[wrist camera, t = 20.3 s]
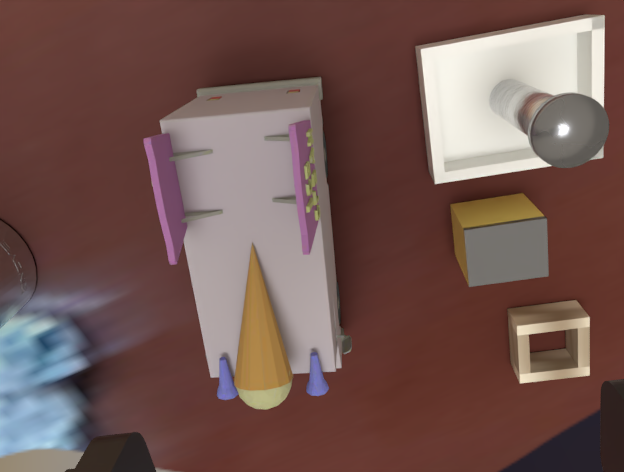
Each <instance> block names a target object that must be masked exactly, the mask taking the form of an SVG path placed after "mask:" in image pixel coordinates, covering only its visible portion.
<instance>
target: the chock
mask: <svg viewBox="0 0 624 472" xmlns="http://www.w3.org/2000/svg"><path fill="white" fill-rule="evenodd" d="M450 208H451V218H452V228H453V238H454V248H455V256H456V258H457V260H458V263H459V265H460V267H461V270H462V272H463V274H464V276H465V279H466V281H467V283H468V285H469V287H472V286H479V285H487V284H494V283H502V282H509V281H516V280H524V279H531V278H539V277H546V276H549V274H548V242H547V218H546V217H545V216H544V215H543V214H542V213H541V212H540V211H539V210H538V209H537V207H536V206H535V205H534V204H533V203H532V202H531V201H530V200H529V199H528V198H527V197H526V196H525V195H524V194H523V193H520V194H513V195H507V196H500V197H494V198H487V199H481V200H474V201H468V202H461V203H455V204H450Z"/></svg>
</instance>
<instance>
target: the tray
mask: <svg viewBox="0 0 624 472" xmlns="http://www.w3.org/2000/svg"><path fill="white" fill-rule="evenodd" d="M604 33H605V15H580V16H575V17H569V18H564V19H558V20H553V21H548V22H542V23H537V24H532V25H526V26H521V27H516V28H510V29H505V30H499V31H494V32H489V33H483V34H478V35H473V36H467V37H462V38H457V39H451V40H446V41H441V42H435V43H430V44H424V45H419V46H415V49H416V59H417V68H418V77H419V86H420V95H421V104H422V113H423V123H424V132H425V141H426V150H427V159H428V168H429V173H430V175H431V177H432V179H433V181H434V183H435V184H439V183H446V182H452V181H458V180H465V179H471V178H478V177H484V176H490V175H497V174H503V173H510V172H516V171H522V170H529V169H535V168H541V167H548V166H552V165H550V164H548V163H546V162H545V161H543V160H542V159H541V158H539V157H538V156H537V155H536V154H535V153H534V152H533V150H532V148H531V146H530V144H529V141H528V136H527V135H526V134H524V133H523V132H521V131H520V130H518V129H517V128H515V127H514V126H513V125H511V124H510V123H508V122H507V121H505V120H504V119H503V118H501V117H500V116H498V115H497V114H495V113H494V112H493V110H492V109H491V107H490V102H489V99H490V94H491V92H492V90H493V88H494V87H495V86H496V85H497V84H498V83H500V82H501V81H504V80H507V79H515V80H518V81H520V82H523V83H525V84H528V85H530V86H533V87H535V88H537V89H540V90H542V91H545V92H547V93H550V94H552V95H554V96H555V95H558V94H561V93H568V92H573V93H579V94H582V95H585V96H588V97H591V98H593V99H595V100H596V101H597V102H599V103H600V104H601V105H602V107H603V108H604ZM599 158H603V147H602V148H601V150H600V151H599V152H598V153H597V154H596V155H595V156H594V157H593V158H592V159H599ZM592 159H590V160H592Z"/></svg>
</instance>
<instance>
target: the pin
mask: <svg viewBox="0 0 624 472" xmlns="http://www.w3.org/2000/svg"><path fill="white" fill-rule="evenodd" d="M489 102H490V107H491V109H492V110H493V112H494V113H495V114H497V115H498V116H500V117H501V118H503V119H504V120H505V121H507V122H508V123H510V124H511V125H513V126H514V127H515V128H517V129H518V130H520V131H521V132H523V133H524V134H526V135H527V136H528V141H529V144H530V146H531V148H532V150H533V152H534V153H535V154H536V155H537V156H538V157H539V158H541V159H542V160H543V161H545V162H546V163H548V164H550V165H552V166H555V167H559V168H571V167H576V166H579V165H582V164H584V163H586V162H587V161H589V160H590V159H592V158H593V157H594V156H595V155H596V154H597V153H598V152H599V151H600V150H601V148H602V147H603V145H604V143H605V141H606V139H607V136H608V132H609V120H608V116H607V113H606V111H605V109H604V108H603V107H602V105H601V104H600V103H599V102H597V101H596V100H595V99H593V98H591V97H588V96H585V95H582V94H579V93H573V92H568V93H561V94H558V95H555V96H554V95H552V94H550V93H547V92H545V91H542V90H540V89H537V88H535V87H533V86H530V85H528V84H525V83H523V82H520V81H518V80H515V79H507V80H504V81H501V82H500V83H498V84H497V85H496V86H495V87H494V88H493V90H492V92H491V94H490V99H489Z"/></svg>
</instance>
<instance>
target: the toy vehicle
mask: <svg viewBox="0 0 624 472" xmlns="http://www.w3.org/2000/svg"><path fill="white" fill-rule="evenodd" d="M322 99H323V91H322V80H321V77H313V78H302V79H292V80H281V81H271V82H261V83H250V84H240V85H230V86H219V87H209V88H199V89H197V98H196V99H194V100H192V101H191V102H189V103H187V104H186V105H184V106H183V107H181V108H179V109H178V110H176V111H174V112H173V113H171V114H169V115H168V116H166V117H164V118H163V119H161V120H160V125H161V130H162V134H160V135H156V136H152V137H148V138H144V146H145V150H146V154H147V157H148V161H149V167H150V173H151V179H152V181H151V182H152V187H153V190H154V195H155V200H156V205H157V210H158V215H159V219H160V223H161V227H162V231H163V235H164V239H165V243H166V247H167V253H168V259H169V263H170V265H173V264H177V262H178V259H179V255H180V251H181V248H182V244H183V241H184V246H185V251H186V256H187V261H188V266H189V271H190V276H191V281H192V286H193V291H194V296H195V301H196V306H197V311H198V316H199V321H200V326H201V331H202V336H203V341H204V346H205V351H206V358H207V361H208V366H209V371H210V376H211V378H212V377H219V387H218V391H217V397H218V398H219V399H222V400H228V399H232V398H235V397H236V396H237V395H238V394H239V396H240V398H241V399H242V400H243V401H244V402H245V403H246V404H247V405H249V406H251V407H253V408H256V409H269V408H272V407H275V406H278V405H279V404H280V403H281V402H282V401H283V400H284V399H286V397H287V395H288V393H289V391H290V389H291V385H292V379H293V374H295V373H310V379H309V381H308V384H307V393H309V394H310V395H312V396H320V395H323V394H325V393H326V392H327V391H328V389H329V387H328V385H327V382H326V381H325V380H324V378H323V374H322V372H336V368H342V352H343V353H344V354H346V353H348V352H350V351H351V348H352V342H351V337H350V336H349V335H348V336H346V335H344V328H341V326H339V325H340V321H341V316H340V297H339V287H338V282H337V281H336V268H335V257H334V245H333V233H332V222H331V210H330V198H329V187H328V184H327V180H326V179H327V176H328V168H327V152H326V142H325V135H324V132H323V118H322V111H321V102H320V100H322ZM344 337H345V338H344ZM233 376H235V377H234V382H233V379H232V377H233Z"/></svg>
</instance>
